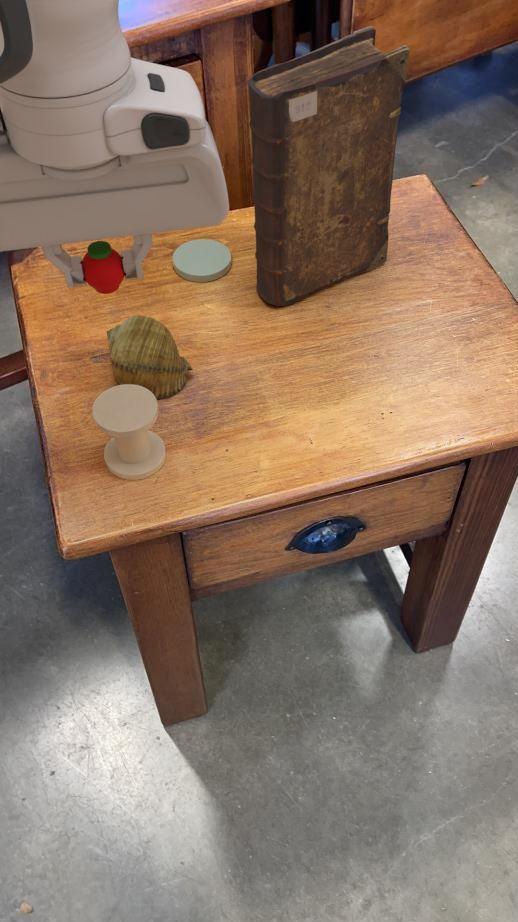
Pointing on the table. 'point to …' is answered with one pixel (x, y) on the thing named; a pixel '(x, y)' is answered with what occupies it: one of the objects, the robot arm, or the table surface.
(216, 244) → the plate
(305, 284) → the book
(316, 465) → the table surface
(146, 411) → the stand
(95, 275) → the strawberry
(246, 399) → the table surface
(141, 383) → the seashell
